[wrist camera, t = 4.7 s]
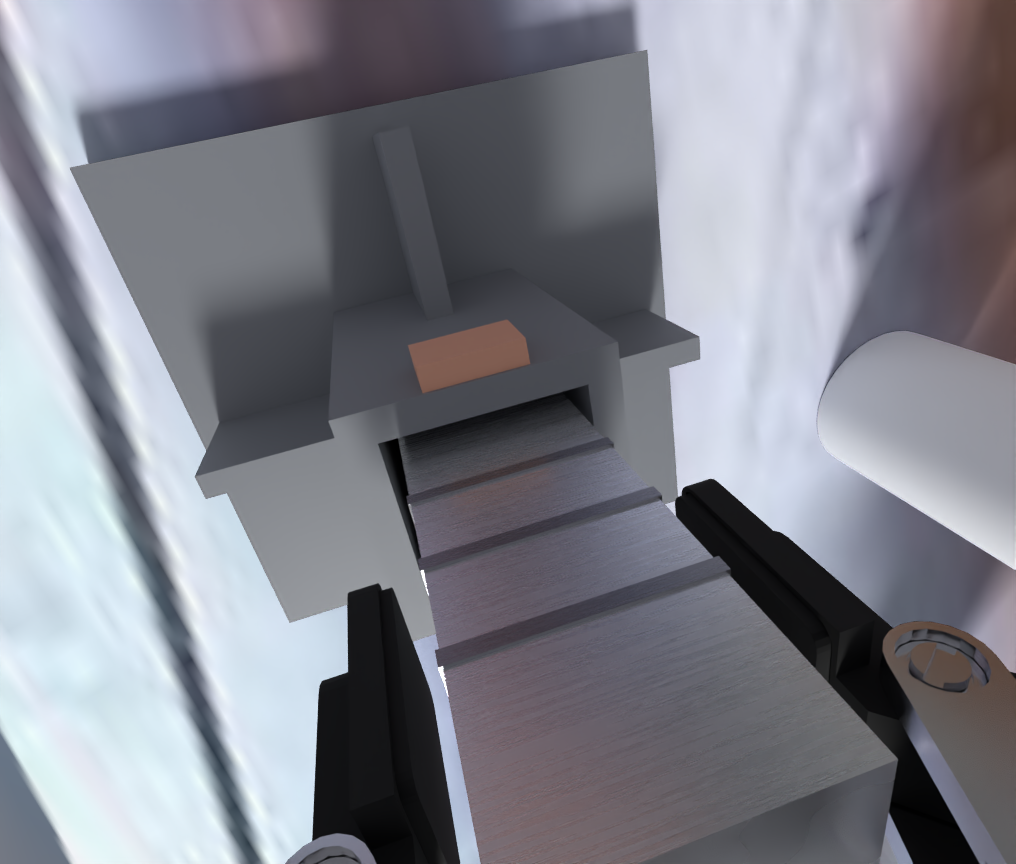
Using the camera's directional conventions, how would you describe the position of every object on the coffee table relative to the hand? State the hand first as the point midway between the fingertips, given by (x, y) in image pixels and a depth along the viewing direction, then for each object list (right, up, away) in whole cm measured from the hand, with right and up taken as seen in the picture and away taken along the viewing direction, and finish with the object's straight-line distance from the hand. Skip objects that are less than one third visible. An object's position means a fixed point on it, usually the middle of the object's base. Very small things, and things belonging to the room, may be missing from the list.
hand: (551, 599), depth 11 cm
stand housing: (-3, +6, +13) cm, 14 cm away
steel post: (-3, +5, +11) cm, 12 cm away
